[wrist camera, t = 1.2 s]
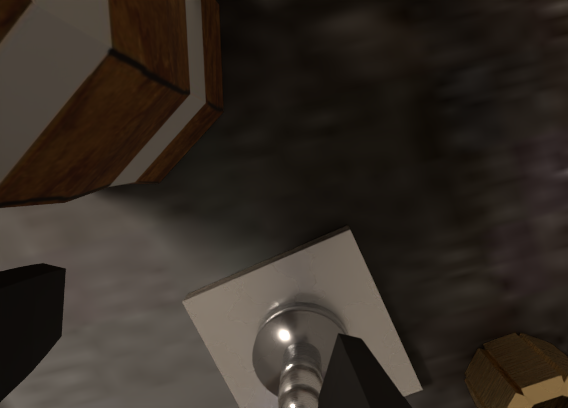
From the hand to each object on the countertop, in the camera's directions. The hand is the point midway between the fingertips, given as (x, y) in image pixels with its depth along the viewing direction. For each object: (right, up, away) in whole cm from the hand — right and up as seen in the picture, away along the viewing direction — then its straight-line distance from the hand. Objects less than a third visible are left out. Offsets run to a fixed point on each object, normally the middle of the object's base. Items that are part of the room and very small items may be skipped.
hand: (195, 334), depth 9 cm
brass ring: (+15, -6, +11) cm, 20 cm away
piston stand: (+3, -4, +11) cm, 12 cm away
